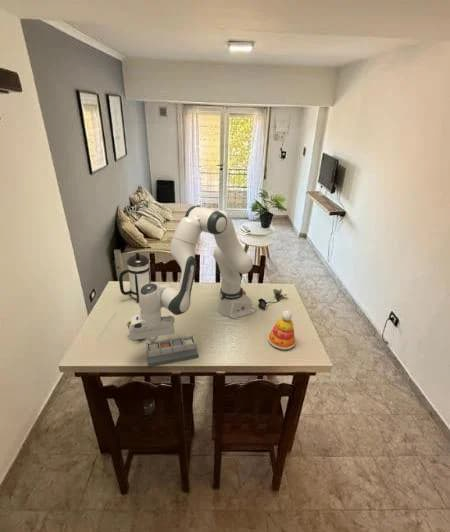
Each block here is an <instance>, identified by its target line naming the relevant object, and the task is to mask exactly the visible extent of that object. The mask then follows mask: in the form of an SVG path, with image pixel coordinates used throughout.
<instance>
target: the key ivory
mask: <svg viewBox="0 0 450 532" xmlns="http://www.w3.org/2000/svg"><path fill="white" fill-rule="evenodd" d="M190 343H193V342H192V339H190V340H184V344H190Z"/></svg>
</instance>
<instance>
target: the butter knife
mask: <svg viewBox="0 0 450 532" xmlns="http://www.w3.org/2000/svg"><path fill="white" fill-rule="evenodd" d="M108 327H109V326H107V325H106V326H104V328H103V329H102V331H101V332H100V333H99V334H98V335H97V336H96V337H95V341H100V340H101V339H102V337H103V336H104V333H105V332H106V330H107V329H108Z"/></svg>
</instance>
